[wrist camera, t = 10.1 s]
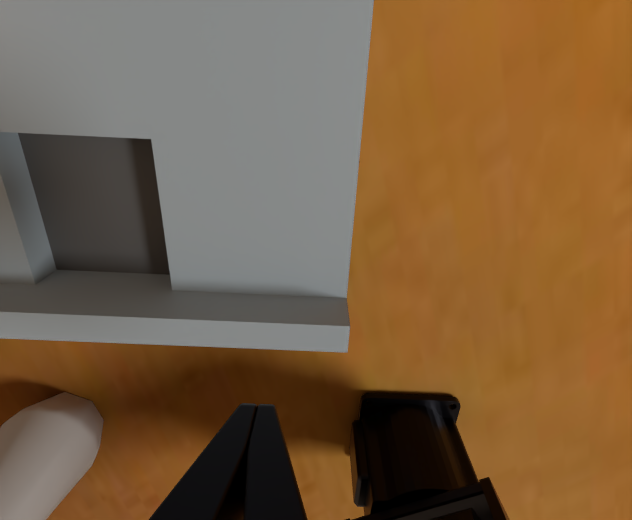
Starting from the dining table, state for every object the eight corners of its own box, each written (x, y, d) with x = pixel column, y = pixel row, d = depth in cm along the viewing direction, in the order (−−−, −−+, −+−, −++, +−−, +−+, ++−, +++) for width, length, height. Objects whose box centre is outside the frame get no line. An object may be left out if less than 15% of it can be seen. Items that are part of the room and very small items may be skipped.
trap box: (383, -180, 13) (417, -317, 9) (342, 302, 22) (348, 359, 17) (-363, -222, 13) (-729, -386, 8) (-108, 283, 22) (-222, 336, 17)
